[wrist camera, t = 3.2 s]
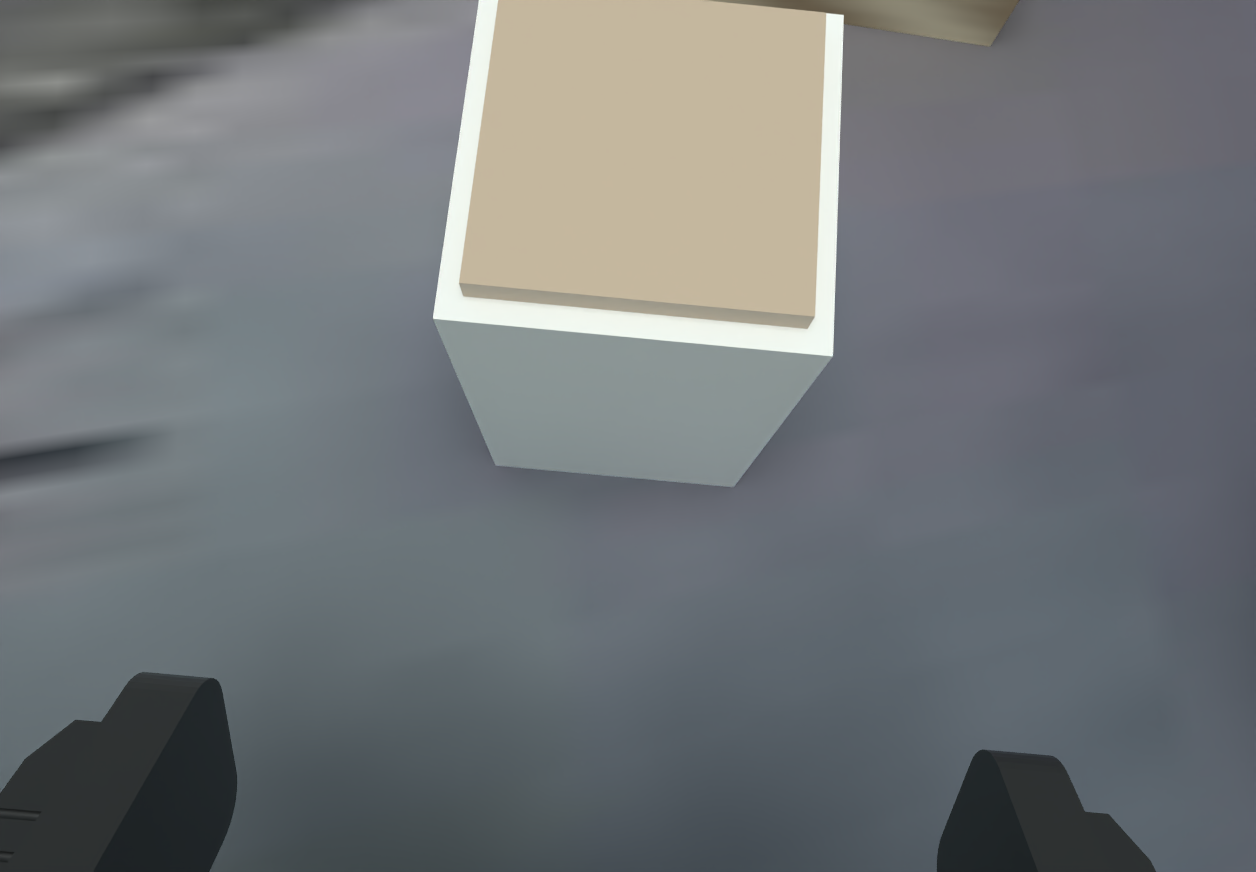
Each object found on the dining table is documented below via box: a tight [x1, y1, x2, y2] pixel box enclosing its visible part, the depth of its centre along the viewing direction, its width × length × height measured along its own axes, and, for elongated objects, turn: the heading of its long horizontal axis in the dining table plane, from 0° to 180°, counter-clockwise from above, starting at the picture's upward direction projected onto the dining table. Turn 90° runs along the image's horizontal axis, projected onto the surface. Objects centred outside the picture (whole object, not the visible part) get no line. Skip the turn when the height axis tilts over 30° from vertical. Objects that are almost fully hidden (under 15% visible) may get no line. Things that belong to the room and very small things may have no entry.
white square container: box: [433, 0, 844, 487], centre depth 20 cm, size 6×6×10 cm
